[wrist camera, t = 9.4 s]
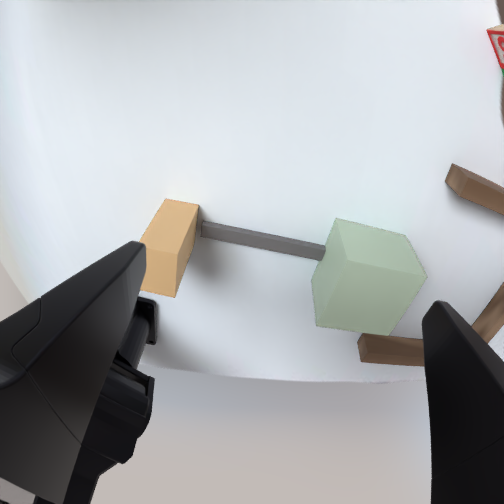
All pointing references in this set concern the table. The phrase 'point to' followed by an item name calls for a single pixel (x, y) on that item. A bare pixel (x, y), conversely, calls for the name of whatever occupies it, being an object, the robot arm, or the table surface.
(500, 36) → the stack of blocks
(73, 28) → the table surface
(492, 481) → the robot arm
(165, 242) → the block dumbbell
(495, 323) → the frame
